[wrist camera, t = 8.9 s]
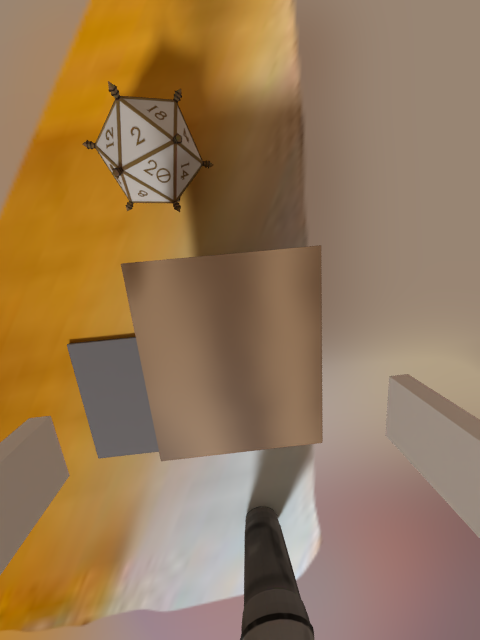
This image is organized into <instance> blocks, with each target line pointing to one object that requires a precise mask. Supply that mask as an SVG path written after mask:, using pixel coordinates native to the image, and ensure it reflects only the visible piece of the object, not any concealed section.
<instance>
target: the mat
mask: <svg viewBox="0 0 480 640" xmlns="http://www.w3.org/2000/svg"><path fill="white" fill-rule="evenodd" d="M67 347H68V351H69V354H70V358H71V362H72V365H73V369H74V372H75V376H76V379H77V383H78V387H79V390H80V394H81V397H82V401H83V405H84V408H85V412H86V415H87V419H88V423H89V426H90V430H91V433H92V437H93V440H94V444H95V448H96V451H97V455H98V458H106V457H115V456H124V455H133V454H142V453H151V452H159V449H158V444H157V439H156V434H155V429H154V424H153V419H152V414H151V409H150V404H149V400H148V395H147V390H146V385H145V380H144V375H143V370H142V365H141V360H140V355H139V350H138V346H137V341H136V337H130V338H120V339H110V340H100V341H90V342H80V343H70V344H67Z"/></svg>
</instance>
